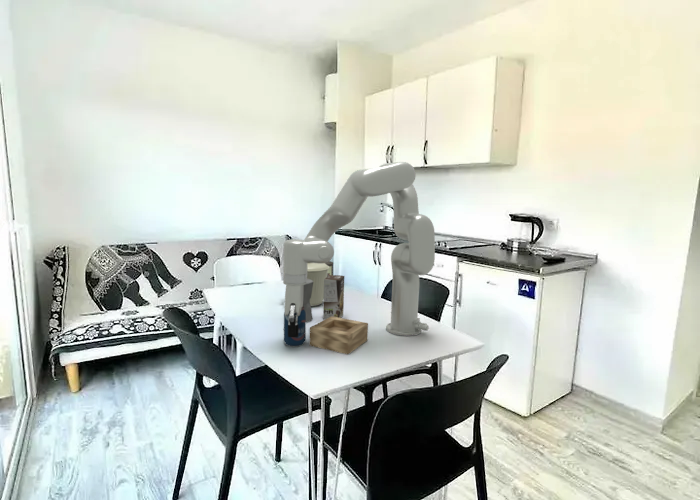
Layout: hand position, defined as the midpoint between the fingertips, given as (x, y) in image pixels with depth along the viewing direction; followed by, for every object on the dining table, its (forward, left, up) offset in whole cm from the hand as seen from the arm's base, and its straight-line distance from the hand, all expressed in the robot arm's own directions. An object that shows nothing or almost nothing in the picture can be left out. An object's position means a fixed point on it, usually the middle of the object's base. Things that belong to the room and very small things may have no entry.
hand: (294, 332), depth 134 cm
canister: (+22, -42, -4) cm, 48 cm away
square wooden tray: (-12, -8, -4) cm, 15 cm away
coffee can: (+29, -66, -4) cm, 72 cm away
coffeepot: (+12, -21, -4) cm, 25 cm away
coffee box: (+3, -31, -4) cm, 31 cm away
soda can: (0, 0, -4) cm, 4 cm away
